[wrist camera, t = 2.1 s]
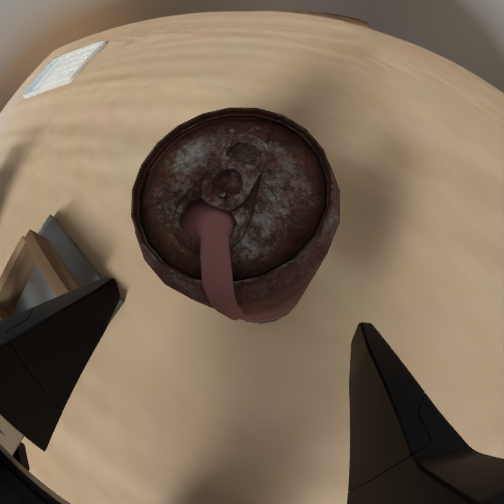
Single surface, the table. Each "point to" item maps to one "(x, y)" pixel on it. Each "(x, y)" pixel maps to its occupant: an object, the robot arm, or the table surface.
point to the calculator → (63, 69)
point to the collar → (44, 270)
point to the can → (237, 211)
